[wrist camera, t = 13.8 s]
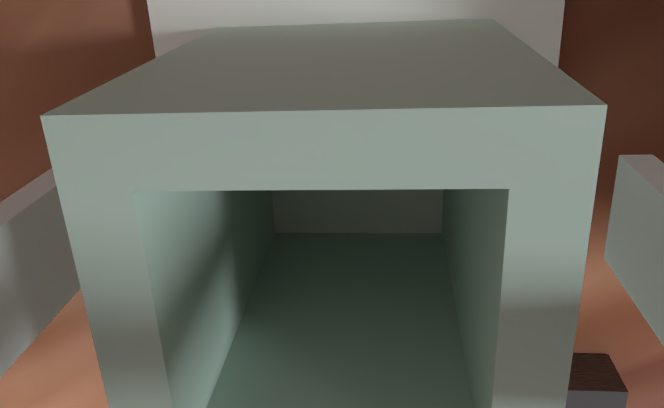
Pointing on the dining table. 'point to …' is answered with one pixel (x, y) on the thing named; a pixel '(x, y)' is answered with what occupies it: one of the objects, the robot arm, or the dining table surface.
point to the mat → (355, 7)
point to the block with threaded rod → (595, 383)
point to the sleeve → (332, 248)
